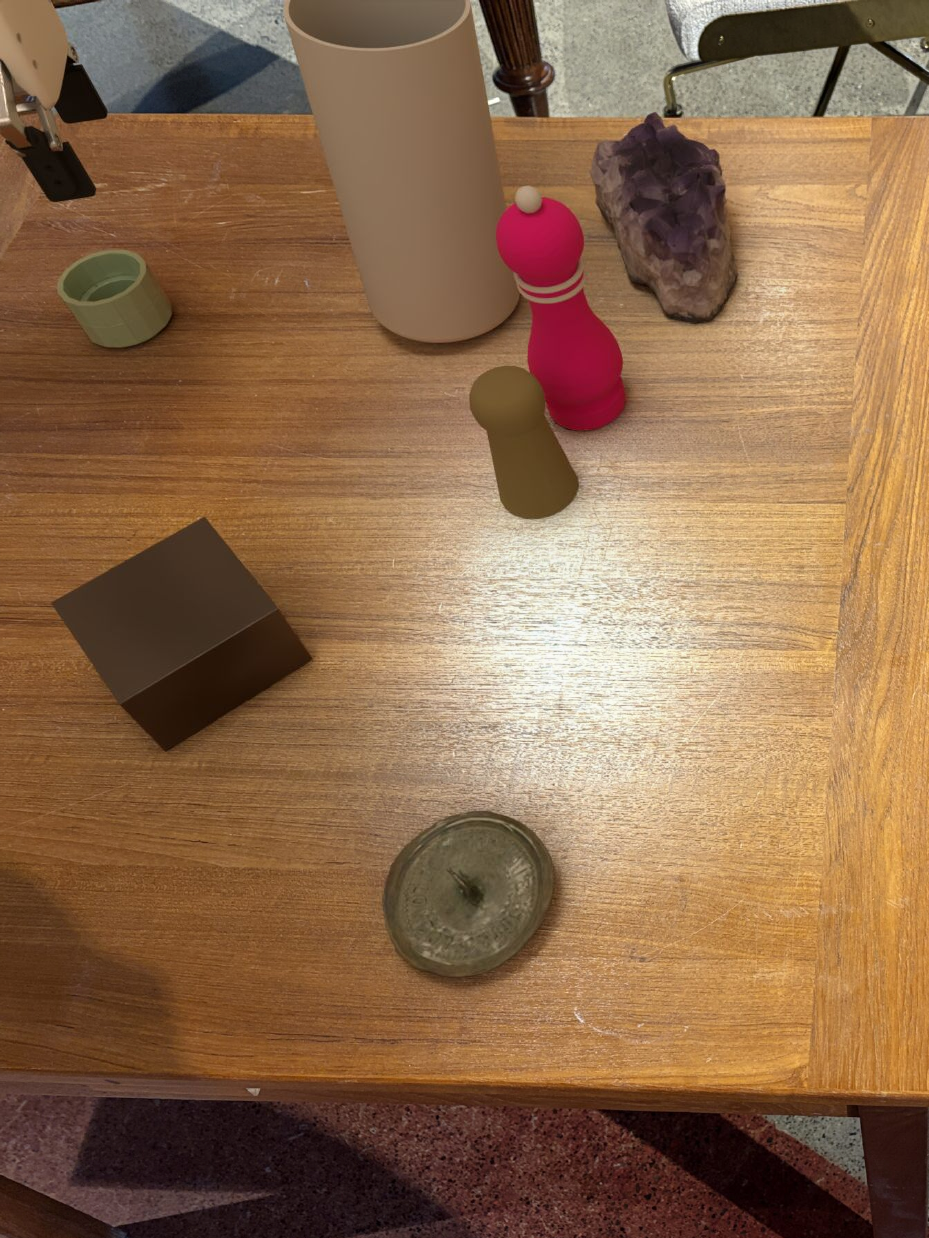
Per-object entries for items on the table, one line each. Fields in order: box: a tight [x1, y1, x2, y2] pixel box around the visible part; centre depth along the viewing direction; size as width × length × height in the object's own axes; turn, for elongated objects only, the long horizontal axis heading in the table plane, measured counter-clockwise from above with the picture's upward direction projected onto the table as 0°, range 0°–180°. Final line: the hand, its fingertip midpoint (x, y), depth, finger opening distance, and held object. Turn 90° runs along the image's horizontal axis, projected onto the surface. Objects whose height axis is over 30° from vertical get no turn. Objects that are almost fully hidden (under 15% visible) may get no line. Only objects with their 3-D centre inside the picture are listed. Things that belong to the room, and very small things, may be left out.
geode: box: [589, 111, 739, 324], centre depth 110 cm, size 20×12×10 cm, turn 22°
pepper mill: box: [496, 185, 627, 432], centre depth 95 cm, size 7×7×20 cm
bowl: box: [56, 249, 173, 348], centre depth 107 cm, size 7×7×5 cm
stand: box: [50, 516, 314, 752], centre depth 87 cm, size 11×11×6 cm
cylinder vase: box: [282, 0, 521, 344], centre depth 99 cm, size 12×12×25 cm
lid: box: [381, 810, 555, 979], centre depth 77 cm, size 11×10×5 cm
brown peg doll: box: [468, 365, 580, 520], centre depth 93 cm, size 6×6×11 cm
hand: (80, 157), depth 94 cm, fingers open, 9 cm apart
